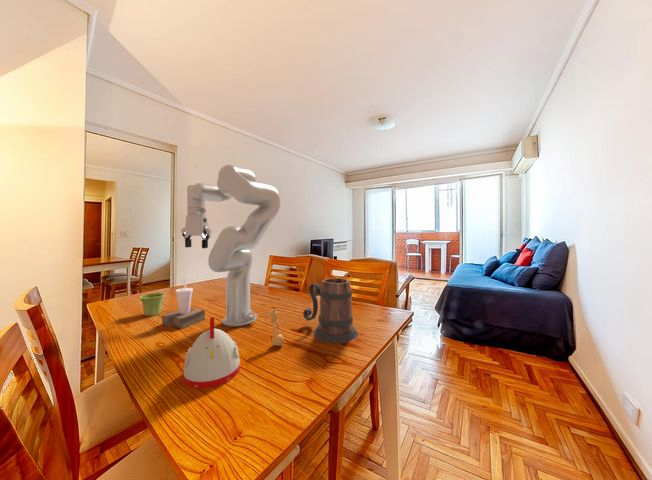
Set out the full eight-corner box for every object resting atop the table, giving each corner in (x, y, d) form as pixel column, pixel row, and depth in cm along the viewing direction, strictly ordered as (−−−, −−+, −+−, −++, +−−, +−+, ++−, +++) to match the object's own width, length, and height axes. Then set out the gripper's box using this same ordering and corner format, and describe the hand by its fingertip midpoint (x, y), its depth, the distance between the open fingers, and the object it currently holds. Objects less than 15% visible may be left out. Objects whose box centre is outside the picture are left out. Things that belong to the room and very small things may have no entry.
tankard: (365, 330, 97) (366, 279, 96) (343, 347, 83) (343, 287, 83) (317, 318, 111) (317, 273, 110) (290, 331, 97) (290, 279, 96)
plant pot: (168, 313, 117) (168, 294, 117) (145, 319, 109) (145, 299, 109) (159, 309, 122) (158, 291, 122) (136, 315, 114) (135, 296, 114)
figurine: (270, 352, 80) (270, 314, 79) (260, 346, 84) (260, 310, 84) (291, 343, 86) (291, 308, 85) (280, 338, 90) (280, 305, 90)
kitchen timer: (180, 394, 60) (179, 331, 59) (186, 365, 72) (185, 313, 72) (242, 380, 65) (241, 323, 64) (237, 355, 78) (237, 307, 77)
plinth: (204, 319, 109) (204, 310, 109) (183, 328, 99) (182, 318, 98) (185, 316, 113) (185, 307, 112) (162, 325, 102) (162, 315, 102)
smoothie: (185, 315, 102) (185, 281, 101) (172, 314, 103) (171, 280, 102) (196, 310, 108) (196, 278, 107) (183, 309, 109) (183, 277, 109)
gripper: (217, 212, 121) (217, 247, 122) (187, 212, 126) (188, 246, 126) (205, 211, 114) (205, 249, 114) (175, 211, 118) (175, 247, 119)
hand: (196, 247), depth 120 cm, fingers open, 9 cm apart
